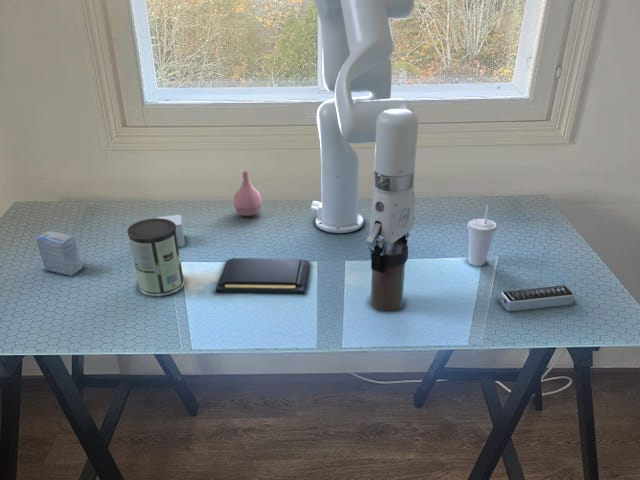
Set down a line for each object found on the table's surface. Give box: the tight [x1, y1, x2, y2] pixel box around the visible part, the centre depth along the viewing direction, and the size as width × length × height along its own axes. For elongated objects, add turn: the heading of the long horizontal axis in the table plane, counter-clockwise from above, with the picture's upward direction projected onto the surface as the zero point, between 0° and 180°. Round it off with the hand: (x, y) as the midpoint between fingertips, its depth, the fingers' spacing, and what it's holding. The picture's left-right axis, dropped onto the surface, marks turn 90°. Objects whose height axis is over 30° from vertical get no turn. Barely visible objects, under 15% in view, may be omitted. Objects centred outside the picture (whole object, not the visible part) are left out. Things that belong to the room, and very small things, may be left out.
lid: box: [370, 240, 409, 267], centre depth 131 cm, size 7×7×3 cm
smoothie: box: [467, 205, 498, 267], centre depth 148 cm, size 6×6×14 cm
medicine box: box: [35, 230, 83, 277], centre depth 151 cm, size 8×4×9 cm, turn 65°
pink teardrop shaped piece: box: [233, 170, 263, 218], centre depth 174 cm, size 8×8×12 cm
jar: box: [370, 262, 407, 313], centre depth 134 cm, size 7×7×13 cm
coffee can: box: [126, 217, 185, 297], centre depth 142 cm, size 10×10×14 cm
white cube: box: [156, 214, 186, 248], centre depth 163 cm, size 6×6×6 cm
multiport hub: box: [499, 284, 575, 312], centre depth 136 cm, size 4×14×2 cm, turn 99°
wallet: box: [215, 257, 310, 295], centre depth 148 cm, size 20×2×15 cm
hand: (388, 262), depth 132 cm, fingers closed on lid, 7 cm apart
